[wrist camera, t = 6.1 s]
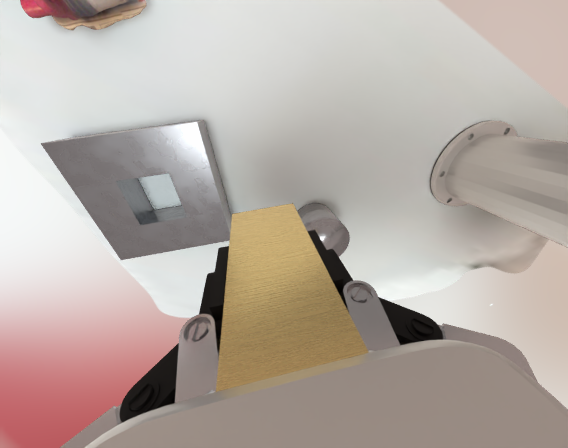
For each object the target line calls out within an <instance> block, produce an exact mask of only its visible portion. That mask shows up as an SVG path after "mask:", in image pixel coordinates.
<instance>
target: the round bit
mask: <svg viewBox="0 0 568 448" xmlns="http://www.w3.org/2000/svg"><path fill="white" fill-rule="evenodd" d="M298 214H299V216H300V218H301V220H302V222H303V224H304V226H305V228H306V230H307V231H311V230H315V231H316V232H317V234H318V236H319V237H320V239H321V241H322V243H323V244H324V246H325V248H326V249H327V250H328V249H333V250H334V251H335V252H336V254H337V255H338V257H339V256H340V255H341V254H342V253H343V252H344V251H345V250H346V248H347V246H348V244H349V238H350V237H349V232H348V230H347V229H346V227H345V226H344V225H343V224H342V223H341V222H340V221H339V219H338V218H337V217H336V216H335V215H334V214H333V213H332V211H331V210H330V209H329V208H328V207H327V206H325V205H323V204H320V203H312V204H308V205H306V206H304V207H302V208H301V209H300V210H299V211H298Z"/></svg>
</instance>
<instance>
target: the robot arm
mask: <svg viewBox="0 0 568 448" xmlns="http://www.w3.org/2000/svg"><path fill="white" fill-rule="evenodd" d="M431 189H432V192H433V195H434V196H435V198H436V199H437V200H439V201H440V202H442V203H444V204H446V205H449V206H462V205H466V204H471V205H474V206H476V207H478V208H480V209H483V210H485V211H487V212H489V213H492V214H494V215H496V216H498V217H500V218H503V219H505V220H507V221H509V222H512V223H514V224H516V225H518V226H521V227H523V228H525V229H527V230H530V231H532V232H534V233H536V234H538V235H541V236H543V237H545V238H547V239H550V240H552V241H554V242H556V243H559V244H561V245H564V246H565V247H568V143H567V142H558V141H550V140H542V139H533V138H525V137H517V133H516V131H515V129H514V128H513V127H512V126H511V125H510V124H508V123H505V122H501V121H486V122H482V123H479V124H476V125H474V126H472V127H470V128H468V129H466V130H465V131H463V132H462V133H461V134H459V135H458V136H457V137H456V138H455V139H454V140H453V141H452V142H451V143H450V144H449V145H448V146H447V147H446V148H445V150H444V151H443V152H442V154H441V156H440V157H439V159H438V161H437V163H436V165H435V167H434V170H433V173H432V178H431ZM307 232H308V234H309V236H310V238H311V240H312V242H313V244H314V246H315V248H316V250H317V252H318V254H319V255H320V257H321V259H322V261H323V263H324V265H325V267H326V269H327V271H328V273H329V275H330V277H331V279H332V281H333V283H334V285H335V287H336V289H337V291H338V293H339V295H340V297H341V299H342V301H343V303H344V305H345V306H346V308H347V310H348V312H349V314H350V316H351V318H352V320H353V322H354V324H355V326H356V328H357V330H358V332H359V334H360V336H361V338H362V340H363V342H364V344H365V346H366V348H367V350H368V352H369V353H366V354H362V355H358V356H354V357H350V358H346V359H342V360H338V361H334V362H330V363H326V364H322V365H319V366H315V367H311V368H307V369H303V370H299V371H295V372H291V373H287V374H283V375H279V376H276V377H272V378H268V379H264V380H260V381H256V382H252V383H248V384H245V385H241V386H237V387H233V388H229V389H225V390H222V391H218V392H216V384H217V374H218V363H219V352H220V341H221V330H222V319H223V308H224V297H225V286H226V275H227V265H228V254H229V246H227V247H222V248H219V250H218V256H217V262H216V268H215V272H214V273H209V274H208V275H207V278H206V283H205V288H204V293H203V298H202V303H201V308H200V312H199V315H196V316H194V317H192V318H191V319H190V320H188V321H187V322H186V324H185V325H184V326H183V327H182V329H181V332H180V337H179V343H178V344H177V345H176V346H175V347H174V348H173V349H172V350H171V351H170V352H169V353H168V354H167V355H166V356H165V357H163V358H162V359H161V360H160V361H159V362H158V363H157V364H156V365H155V366H154V367H153V368H152V369H151V370H150V371H149V372H148V373H147V374H146V375H145V376H143V377H142V378H141V380H139V381H138V382H137V383H136V384H135V385H134V386H133V387H132V388H131V390H130V391H129V392H128V393H127V395H126V396H125V398H124V400H123V402H122V404H121V405H119V406H118V407H115V406H113V407H112V408H111V409H110V410H108V411H107V412H105V413H104V414H103V415H102V416H100V417H99V418H98V419H96V420H95V421H94V422H93V423H91V424H90V425H89V426H87V427H86V428H85V429H84V430H82V431H81V432H80V433H78V434H77V435H76V436H75V437H73V438H72V439H71V440H69V441H68V442H67V443H65V444H64V445H63V446H62V447H60V448H568V409H567V408H566V407H564V406H563V405H562V404H561V403H560V402H559V401H558V400H557V399H556V398H555V397H554V396H552V395H551V394H550V393H549V392H548V391H547V390H545V388H543V387H542V386H541V385H540V384H539V383H538V382H537V380H536V378H535V376H534V374H533V372H532V370H531V368H530V366H529V364H528V362H527V360H526V358H525V357H524V355H523V354H522V352H521V351H520V350H518V349H517V348H516V347H515V346H514V345H512V344H511V343H509V342H507V341H506V340H503V339H500V338H498V337H494V336H490V335H486V334H482V333H478V332H475V331H471V330H466V329H463V328H459V327H455V326H451V325H447V324H442V326H440V325H437V324H436V322H434V321H433V320H432V319H430V318H429V317H427V316H425V315H423V314H420V313H418V312H415V311H413V310H410V309H407V308H405V307H402V306H400V305H397V304H395V303H392V302H390V301H387V300H384V299H382V298H379V297H378V295H377V293H376V291H375V290H374V288H373V287H372V286H371V285H369V284H368V283H366V282H363V281H353V279H352V278H351V276H350V275H349V273H348V271H347V270H346V268H345V267H344V265H343V263H342V262H341V260H340V259H339V257H338V255H337V254H336V252H335V251H334V250H333V249H328V250H327V249H326V248H325V246H324V244H323V243H322V241H321V239H320V237H319V236H318V234H317V232H316V231H315V230H311V231H307Z"/></svg>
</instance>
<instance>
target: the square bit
mask: <svg viewBox="0 0 568 448" xmlns="http://www.w3.org/2000/svg"><path fill="white" fill-rule="evenodd" d="M366 353H369V352H368V350H367V348H366V346H365V344H364V342H363V340H362V338H361V336H360V334H359V332H358V330H357V328H356V326H355V324H354V322H353V320H352V318H351V316H350V314H349V312H348V310H347V308H346V306H345V305H344V303H343V301H342V299H341V297H340V295H339V293H338V291H337V289H336V287H335V285H334V283H333V281H332V279H331V277H330V275H329V273H328V271H327V269H326V267H325V265H324V263H323V261H322V259H321V257H320V255H319V254H318V252H317V250H316V248H315V246H314V244H313V242H312V240H311V238H310V236H309V234H308V232H307V230H306V228H305V226H304V224H303V222H302V220H301V218H300V216H299V214H298V212H297V210H296V208H295V206H294V204H293V203H292V204H286V205H281V206H275V207H269V208H264V209H258V210H252V211H246V212H241V213H235V214H232V221H231V232H230V243H229V254H228V265H227V275H226V286H225V297H224V308H223V319H222V330H221V341H220V352H219V363H218V374H217V384H216V392H218V391H222V390H225V389H229V388H233V387H237V386H241V385H245V384H248V383H252V382H256V381H260V380H264V379H268V378H272V377H276V376H279V375H283V374H287V373H291V372H295V371H299V370H303V369H307V368H311V367H315V366H319V365H322V364H326V363H330V362H334V361H338V360H342V359H346V358H350V357H354V356H358V355H362V354H366Z"/></svg>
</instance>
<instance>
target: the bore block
mask: <svg viewBox="0 0 568 448" xmlns="http://www.w3.org/2000/svg"><path fill="white" fill-rule="evenodd" d="M41 145H42V146H43V148H44V149H45V150H46V152H47V153H48V155H49V156H50V158H51V159H52V161H53V162H54V163H55V165H56V166H57V168H58V169H59V171H60V172H61V174H62V175H63V177H64V178H65V179H66V181H67V182H68V184H69V185H70V187H71V188H72V190H73V191H74V192H75V194H76V195H77V197H78V198H79V200H80V201H81V203H82V204H83V206H84V207H85V208H86V210H87V211H88V213H89V214H90V216H91V217H92V219H93V220H94V221H95V223H96V224H97V226H98V227H99V229H100V230H101V232H102V233H103V235H104V236H105V237H106V239H107V240H108V242H109V243H110V245H111V246H112V248H113V249H114V250H115V252H116V253H117V255H118V256H119V258H120V259H121V260H124V259H130V258H135V257H141V256H146V255H152V254H157V253H163V252H168V251H174V250H179V249H185V248H190V247H196V246H201V245H207V244H213V243H218V242H224V241H229V240H230V232H231V221H232V217H231V213H230V210H229V206H228V203H227V199H226V196H225V192H224V189H223V185H222V181H221V178H220V174H219V171H218V167H217V164H216V160H215V157H214V153H213V149H212V146H211V142H210V139H209V135H208V132H207V128H206V125H205V121H204V120H198V121H191V122H183V123H176V124H168V125H161V126H153V127H146V128H139V129H131V130H124V131H116V132H109V133H101V134H94V135H87V136H79V137H72V138H67V139H62V140H56V141H51V142H46V143H41ZM166 173H169V174H170V177H171V179H172V182H173V184H174V187H175V189H176V191H177V194H178V196H179V199H180V201H181V204H182V206H176V207H170V208H164V209H158V210H153V208H152V206H151V204H150V202H149V200H148V198H147V196H146V194H145V192H144V190H143V188H142V186H141V184H140V182H139V180H138V178H140V177H146V176H153V175H159V174H166Z"/></svg>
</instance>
